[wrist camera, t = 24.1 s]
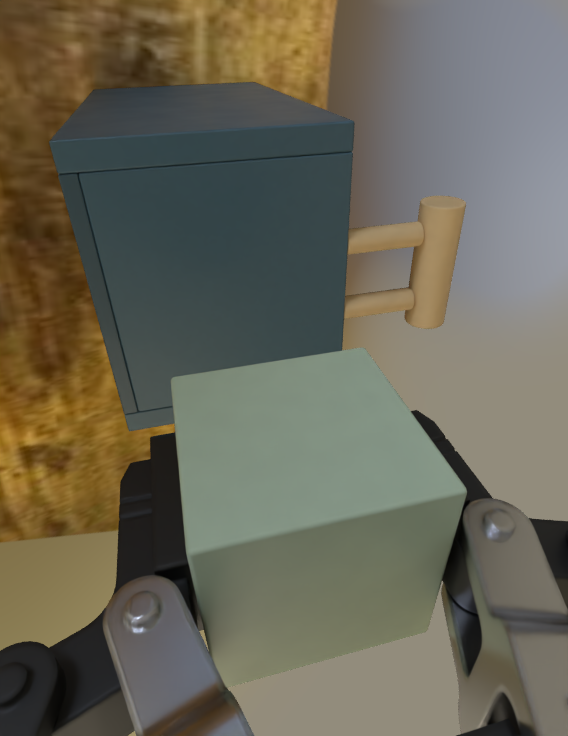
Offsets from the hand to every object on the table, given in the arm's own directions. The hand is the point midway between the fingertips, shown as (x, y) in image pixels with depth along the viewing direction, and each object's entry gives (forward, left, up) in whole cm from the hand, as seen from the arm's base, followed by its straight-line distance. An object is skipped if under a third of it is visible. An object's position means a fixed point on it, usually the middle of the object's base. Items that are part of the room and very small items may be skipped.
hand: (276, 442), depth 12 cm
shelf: (0, -5, -18) cm, 18 cm away
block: (0, 0, 0) cm, 0 cm away
